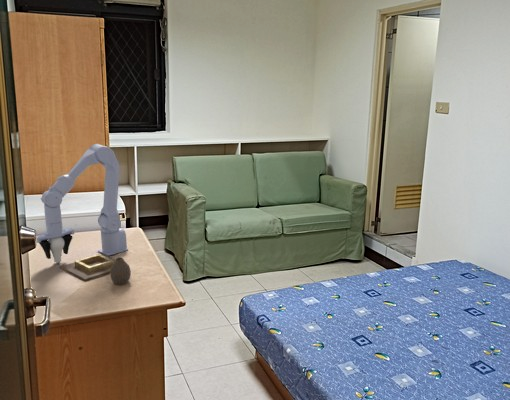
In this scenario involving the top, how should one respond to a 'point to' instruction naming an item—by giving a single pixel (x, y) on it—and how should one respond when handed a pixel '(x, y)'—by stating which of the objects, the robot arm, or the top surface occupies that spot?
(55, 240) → the white light bulb
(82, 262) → the socket collar
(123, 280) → the vase
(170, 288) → the top surface
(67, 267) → the lamp base
